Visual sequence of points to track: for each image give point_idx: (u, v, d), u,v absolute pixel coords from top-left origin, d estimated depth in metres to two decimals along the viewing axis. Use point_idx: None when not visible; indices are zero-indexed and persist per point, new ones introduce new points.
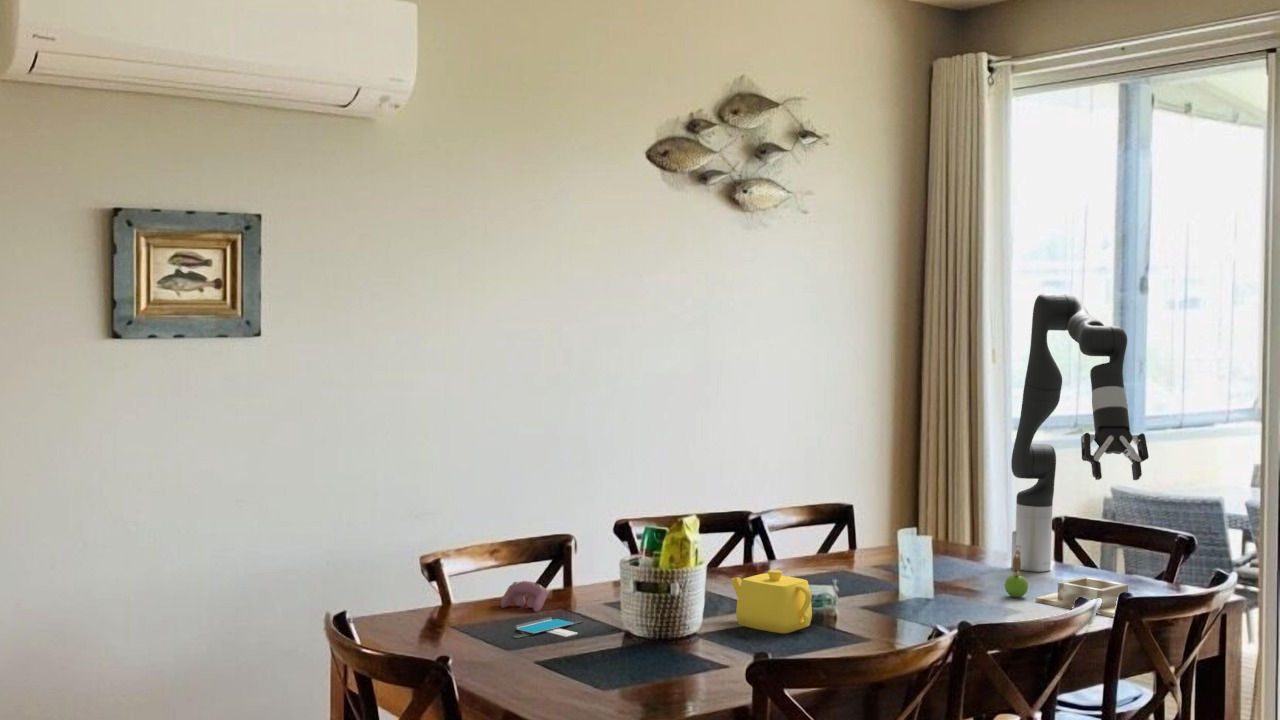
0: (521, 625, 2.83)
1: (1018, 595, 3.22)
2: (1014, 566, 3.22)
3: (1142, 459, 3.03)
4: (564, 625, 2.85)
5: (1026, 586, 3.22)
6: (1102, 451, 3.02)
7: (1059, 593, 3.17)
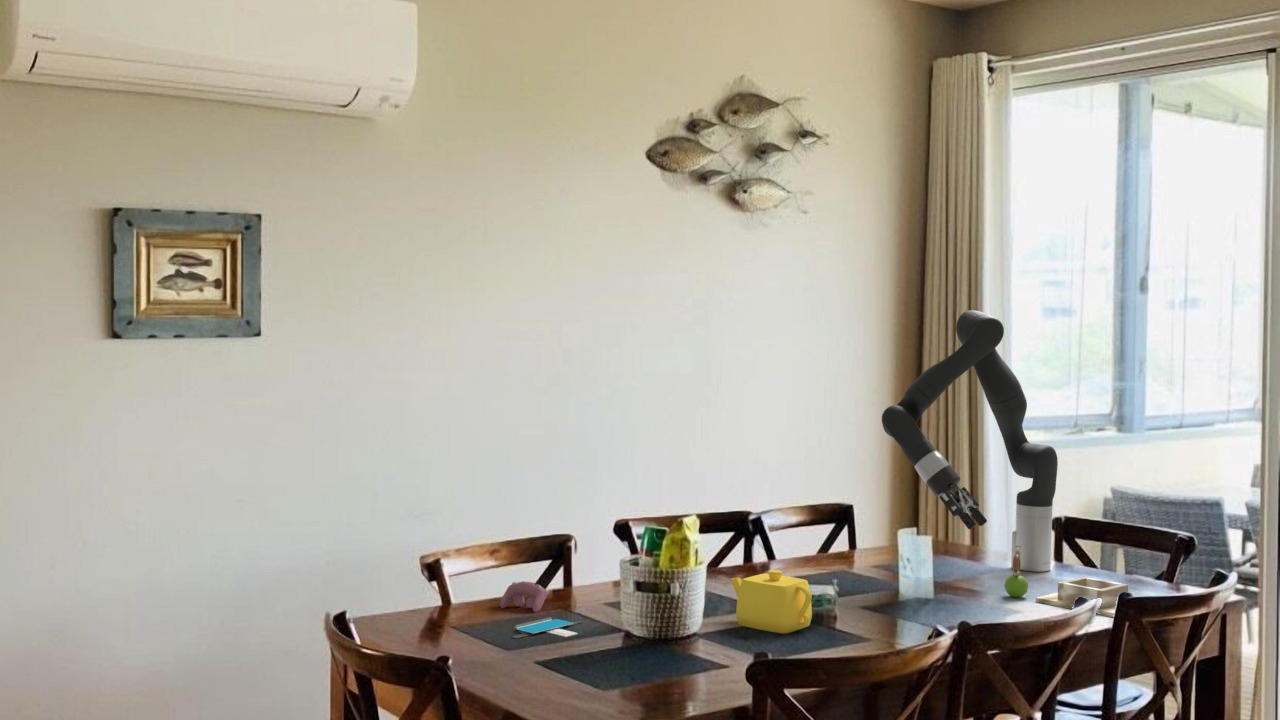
0: (521, 625, 2.83)
1: (1018, 595, 3.22)
2: (1014, 566, 3.22)
3: None
4: (564, 625, 2.84)
5: (1026, 586, 3.22)
6: None
7: (1059, 593, 3.17)
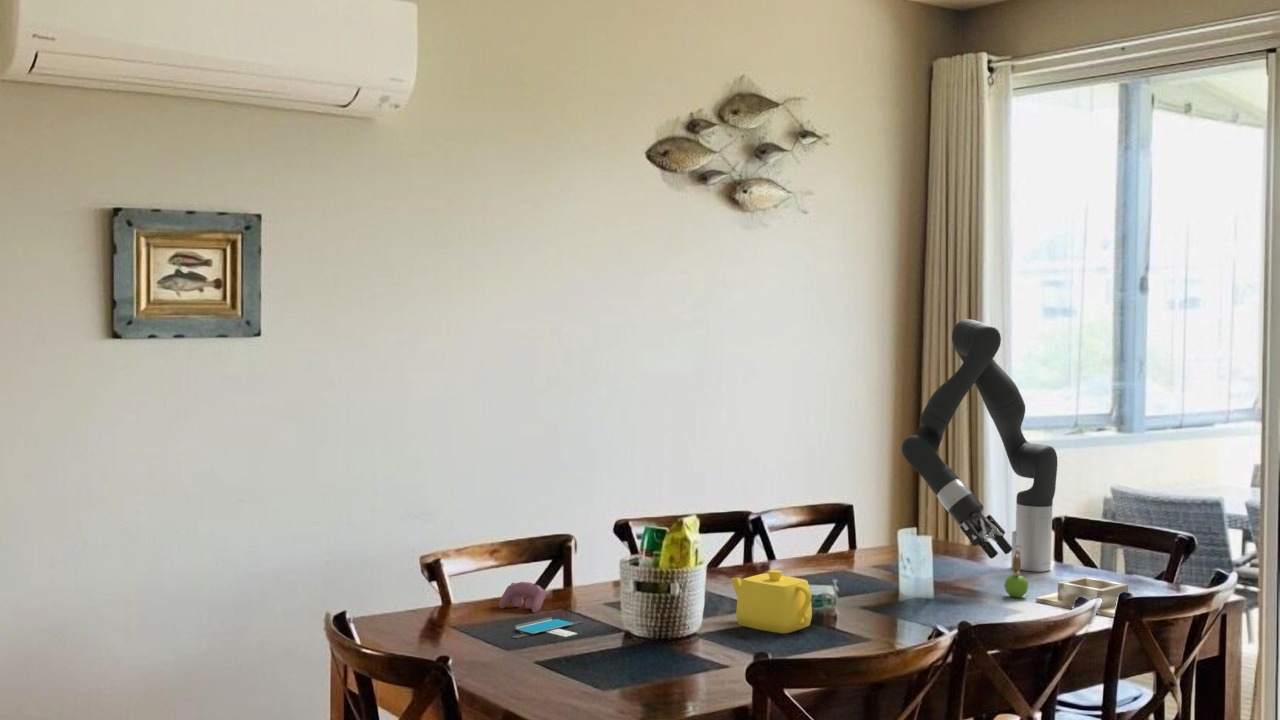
0: (521, 625, 2.83)
1: (1018, 595, 3.22)
2: (1014, 566, 3.22)
3: None
4: (564, 625, 2.84)
5: (1026, 586, 3.22)
6: None
7: (1059, 593, 3.17)
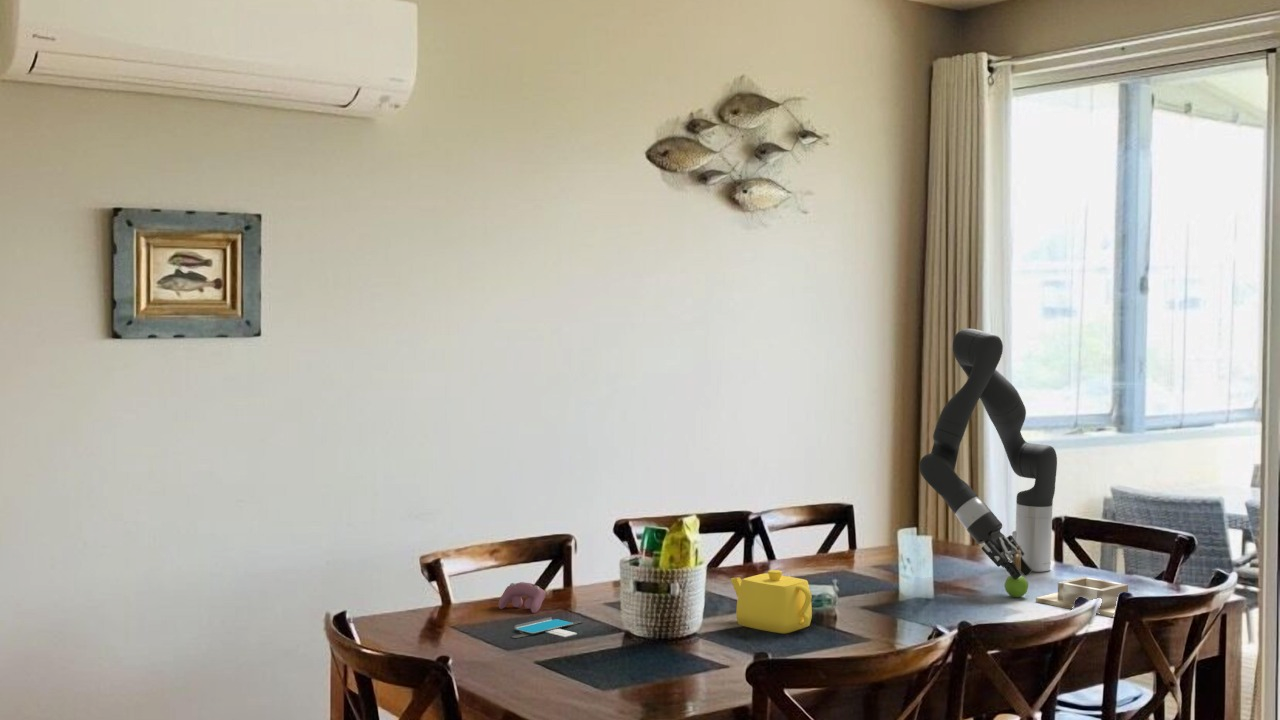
0: (520, 625, 2.83)
1: (1018, 595, 3.22)
2: None
3: None
4: (563, 625, 2.84)
5: (1026, 586, 3.22)
6: None
7: (1059, 593, 3.17)
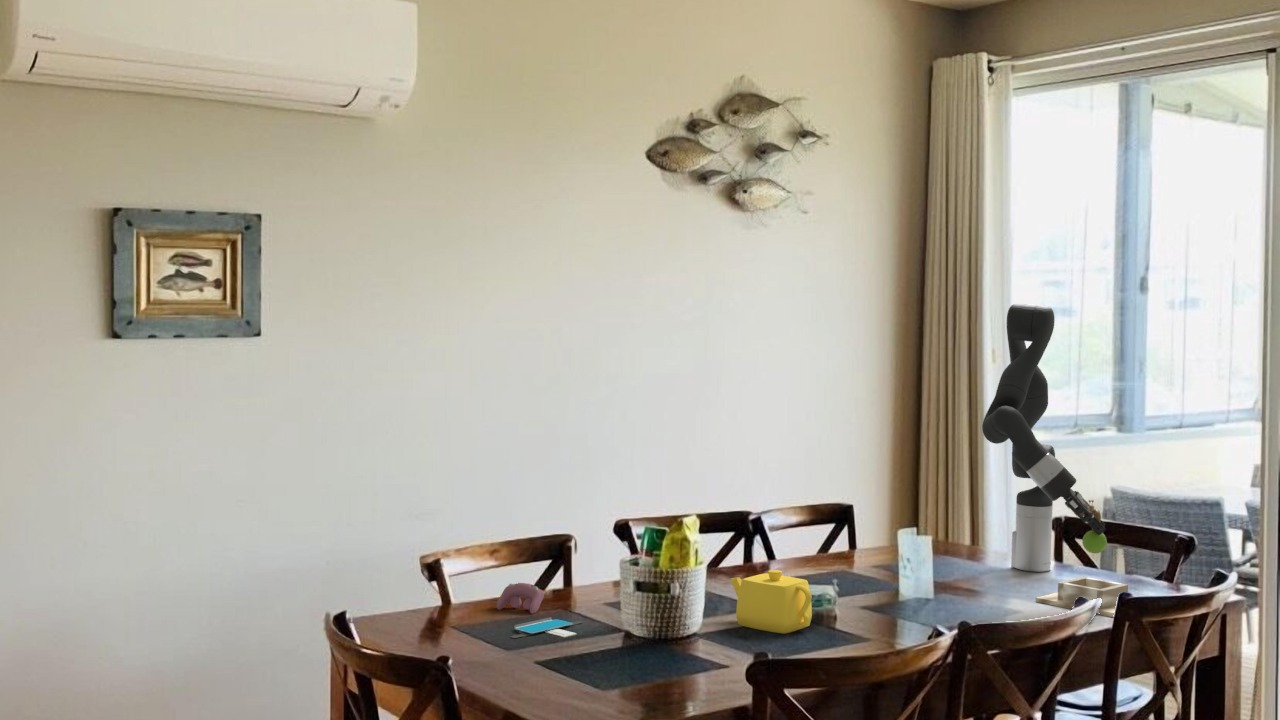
0: (520, 625, 2.83)
1: (1099, 551, 3.15)
2: None
3: None
4: (563, 625, 2.84)
5: (1106, 541, 3.15)
6: None
7: (1059, 593, 3.17)
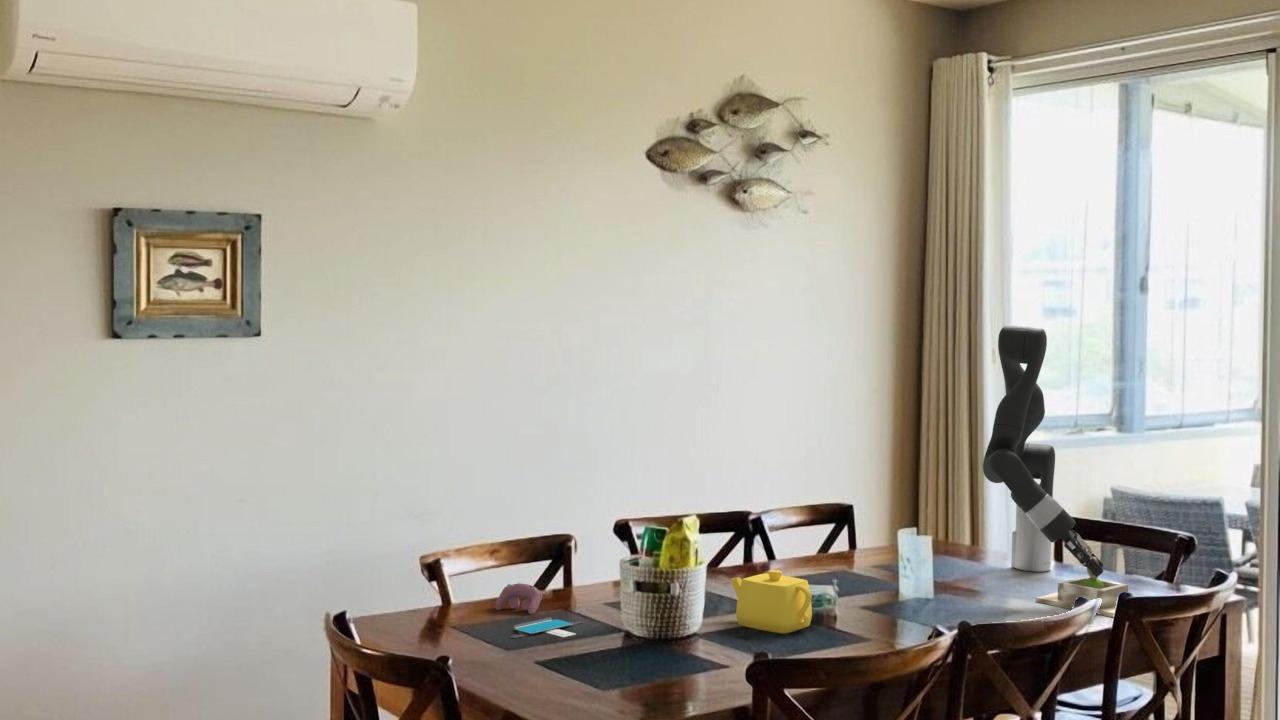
0: (520, 625, 2.83)
1: None
2: None
3: None
4: (563, 626, 2.84)
5: None
6: None
7: (1059, 593, 3.17)
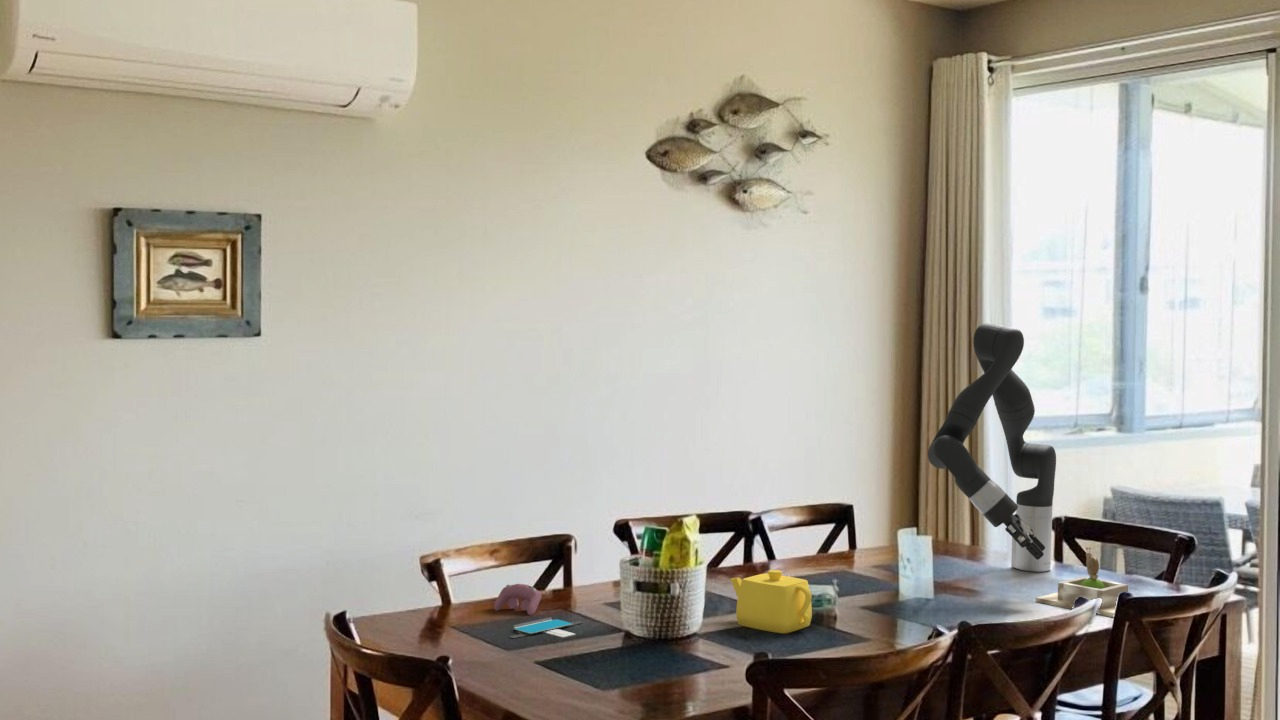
0: (519, 625, 2.83)
1: None
2: (1095, 569, 3.14)
3: None
4: (562, 626, 2.84)
5: None
6: None
7: (1059, 593, 3.17)
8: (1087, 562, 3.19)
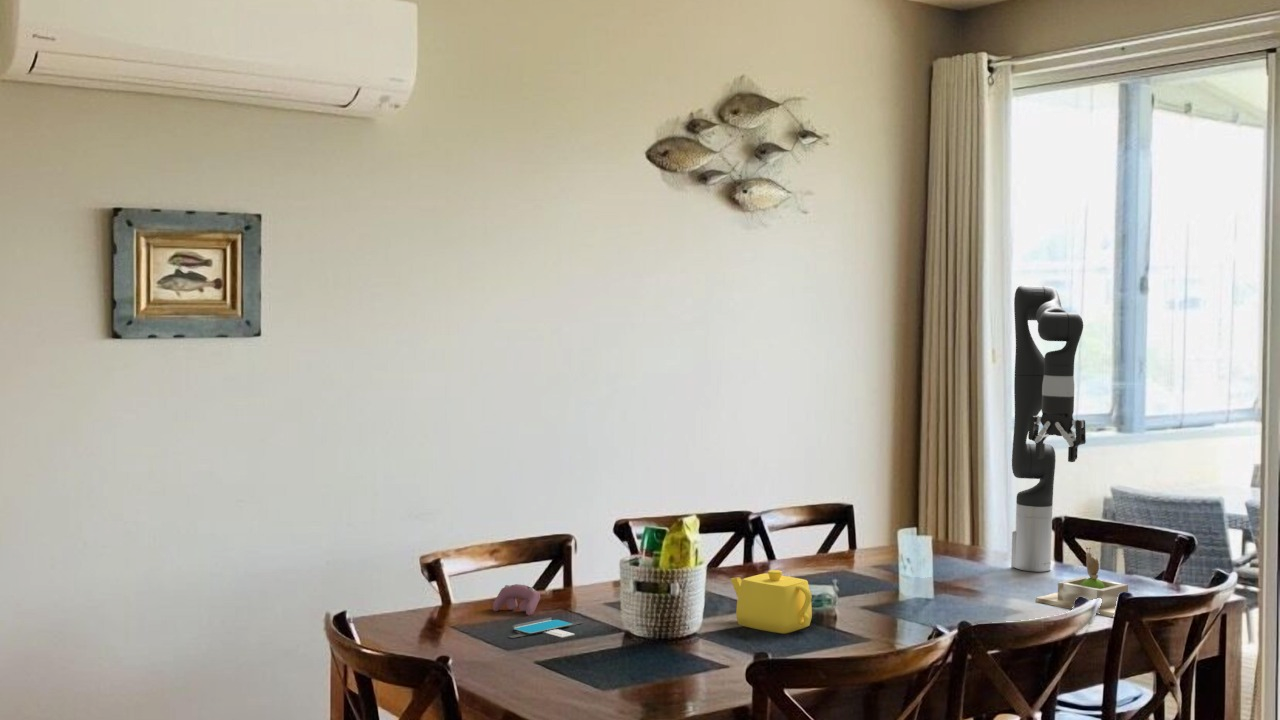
0: (519, 625, 2.83)
1: None
2: (1095, 569, 3.14)
3: (1076, 444, 3.27)
4: (562, 626, 2.84)
5: None
6: (1041, 435, 3.33)
7: (1059, 593, 3.17)
8: (1087, 562, 3.19)
